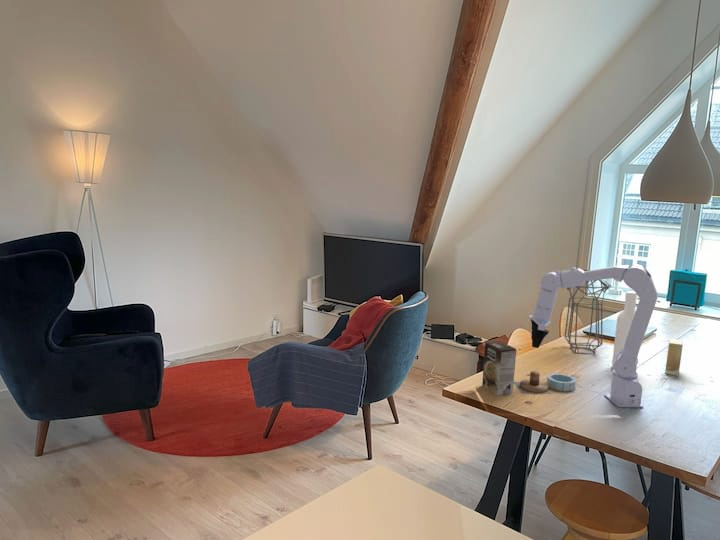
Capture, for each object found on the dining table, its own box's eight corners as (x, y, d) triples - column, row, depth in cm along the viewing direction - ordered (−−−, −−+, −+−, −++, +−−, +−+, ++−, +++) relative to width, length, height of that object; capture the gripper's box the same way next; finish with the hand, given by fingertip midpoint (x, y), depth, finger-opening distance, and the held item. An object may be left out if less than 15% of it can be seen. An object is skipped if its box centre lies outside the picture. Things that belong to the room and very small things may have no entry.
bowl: (579, 393, 173) (580, 383, 173) (552, 392, 173) (553, 383, 172) (568, 383, 182) (569, 373, 181) (542, 382, 182) (543, 373, 181)
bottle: (606, 367, 200) (615, 290, 195) (620, 364, 203) (628, 289, 198) (625, 374, 193) (634, 294, 188) (639, 371, 196) (648, 293, 191)
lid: (552, 393, 171) (553, 378, 170) (525, 392, 171) (526, 377, 170) (542, 382, 180) (543, 368, 179) (516, 382, 180) (517, 368, 179)
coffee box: (481, 387, 176) (484, 341, 174) (497, 385, 178) (500, 340, 176) (497, 398, 168) (500, 350, 165) (513, 395, 170) (517, 348, 167)
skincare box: (665, 369, 199) (669, 338, 197) (678, 371, 197) (682, 340, 195) (665, 374, 194) (669, 342, 192) (678, 376, 191) (682, 344, 189)
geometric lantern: (607, 358, 210) (614, 273, 204) (566, 356, 213) (572, 272, 207) (596, 346, 226) (602, 266, 220) (558, 344, 228) (563, 266, 222)
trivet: (552, 395, 170) (552, 393, 170) (522, 395, 170) (522, 393, 170) (541, 384, 180) (541, 382, 180) (513, 383, 180) (513, 381, 180)
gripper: (531, 298, 184) (522, 334, 188) (533, 309, 171) (523, 347, 174) (552, 303, 183) (542, 339, 186) (555, 314, 169) (544, 352, 172)
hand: (534, 343), depth 180 cm, fingers open, 7 cm apart
